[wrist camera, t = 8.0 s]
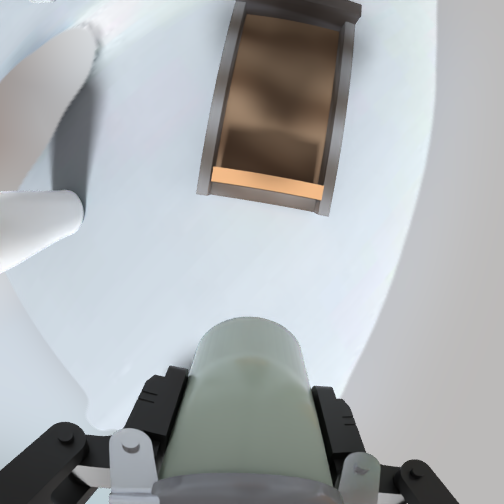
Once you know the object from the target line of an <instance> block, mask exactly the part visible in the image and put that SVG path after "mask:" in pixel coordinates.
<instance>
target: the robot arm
mask: <svg viewBox="0 0 504 504" xmlns="http://www.w3.org/2000/svg"><path fill="white" fill-rule="evenodd" d="M187 379H188V369H184V368H179V367H175V366H169V368H168V370H167V373H166V375H165V377H163V376H158V375H154V376H153V377H151V378H150V379H149V380H147V381H146V383H145V385H144V387H143V389H142V392H141V393H140V395H139V397H138V400H137V401H136V403H135V406H134V408H133V410H132V412H131V414H130V416H129V418H128V420H127V423H126V425H125V426H124V428H123V429H120V430H118V431H116V432H115V433H113V435H111V436H94V435H85V433H84V432H83V430H82V429H81V428H80V427H79V426H77V425H75V424H73V423H70V422H60V423H57V424H54V425H53V426H52V427H50V428H49V429H48V430H47V431H46V432H45V433H43V434H42V435H41V436H40V437H39V438H38V439H36V440H35V441H34V442H33V443H32V444H31V445H29V446H28V447H27V448H26V449H25V450H24V451H23V452H21V453H20V454H19V455H18V456H17V457H16V458H14V459H13V460H12V461H11V462H10V463H9V464H7V465H6V466H5V467H4V468H3V469H2V470H1V471H0V504H85V503H86V502H87V500H88V499H89V498H90V497H91V496H92V495H93V493H94V492H95V491H96V490H97V489H98V487H100V488H111V493H110V494H109V504H160V500H159V498H158V496H157V495H153V494H151V490H152V486H153V483H154V482H157V481H158V475H159V472H160V468H161V465H162V461H163V458H164V455H165V451H166V448H167V445H168V441H169V438H170V435H171V431H172V428H173V425H174V421H175V418H176V415H177V411H178V408H179V405H180V402H181V398H182V395H183V392H184V389H185V385H186V382H187ZM311 391H312V395H313V399H314V404H315V408H316V412H317V416H318V421H319V425H320V429H321V434H322V438H323V443H324V447H325V451H326V456H327V461H328V465H329V470H330V474H331V479H332V484H333V487H334V488H336V489H337V490H338V491H339V492H340V493H341V494H342V496H343V499H344V503H345V504H407V503H408V504H459V503H458V502H457V501H456V499H455V498H454V497H453V495H452V494H451V493H450V492H449V490H448V489H447V488H446V487H445V485H444V484H443V483H442V482H441V481H440V479H439V478H438V477H437V476H436V474H435V473H434V472H433V471H432V469H431V468H430V467H429V466H428V465H427V464H426V463H425V462H423V461H420V460H409V461H407V462H405V463H404V464H403V465H402V466H401V467H393V466H386V465H381V464H380V463H379V461H378V460H377V459H376V458H375V457H374V456H372V455H371V454H368V453H366V451H365V448H364V445H363V443H362V440H361V437H360V434H359V431H358V428H357V426H356V423H355V420H354V418H353V415H352V412H351V409H350V407H349V406H348V405H347V404H346V403H345V401H344V400H343V399H336V397H335V394H334V391H333V388H332V387H324V386H313V387H312V389H311Z"/></svg>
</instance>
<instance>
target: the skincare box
mask: <svg viewBox="0 0 504 504" xmlns="http://www.w3.org/2000/svg"><path fill="white" fill-rule="evenodd" d="M29 1H30V2H32V3H49V2H54V1H55V0H29Z"/></svg>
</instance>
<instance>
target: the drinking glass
mask: <svg viewBox="0 0 504 504" xmlns="http://www.w3.org/2000/svg"><path fill="white" fill-rule="evenodd" d="M83 215H84V212H83V205H82V202H81V200H80V198H79V197H78V196H77V195H76V194H75V193H74V192H72V191H70V190H58V191H2V192H0V273H3V272H5V271H7V270H9V269H11V268H13V267H15V266H16V265H18V264H20V263H22V262H23V261H25V260H27V259H28V258H30V257H31V256H33V255H35V254H36V253H38V252H40V251H41V250H43V249H45V248H47V247H48V246H50V245H52V244H53V243H55V242H57V241H59V240H61V239H63V238H65V237H67V236H70V235H72V234H74V233H75V232H76V231H77V230H78V229H79V228H80V226H81V224H82V221H83Z"/></svg>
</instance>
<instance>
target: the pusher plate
mask: <svg viewBox="0 0 504 504" xmlns="http://www.w3.org/2000/svg"><path fill="white" fill-rule="evenodd" d="M211 181H214V182H221V183H227V184H234V185H240V186H247V187H253V188H259V189H264V190H270V191H276V192H281V193H287V194H292V195H297V196H303V197H308V198H313V199H318V200H322V195H323V189H324V186H322V185H318V184H313V183H308V182H303V181H298V180H293V179H288V178H282V177H277V176H271V175H265V174H260V173H254V172H248V171H241V170H235V169H228V168H221V167H214V166H213V173H212V179H211Z"/></svg>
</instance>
